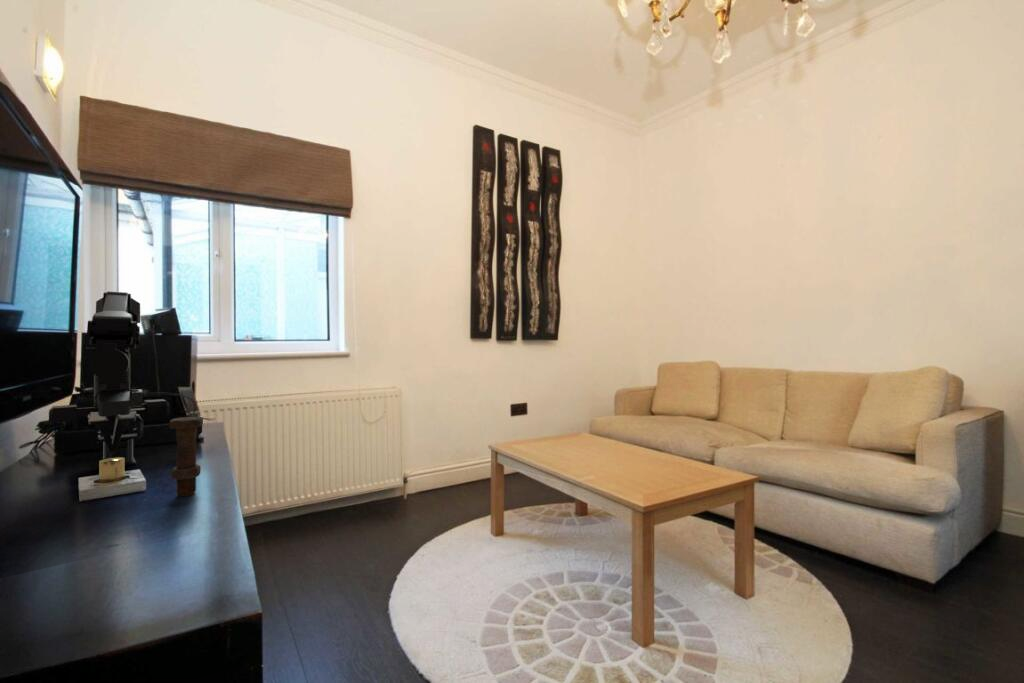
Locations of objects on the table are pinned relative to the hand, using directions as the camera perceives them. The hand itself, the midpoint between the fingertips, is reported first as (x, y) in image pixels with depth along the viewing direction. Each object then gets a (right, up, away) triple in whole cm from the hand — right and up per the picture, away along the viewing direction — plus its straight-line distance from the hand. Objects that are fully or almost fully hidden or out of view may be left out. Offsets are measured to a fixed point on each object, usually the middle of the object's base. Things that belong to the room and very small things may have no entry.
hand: (112, 452), depth 98 cm
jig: (0, -8, 0) cm, 8 cm away
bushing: (0, -8, 0) cm, 8 cm away
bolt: (+18, -8, -4) cm, 20 cm away
